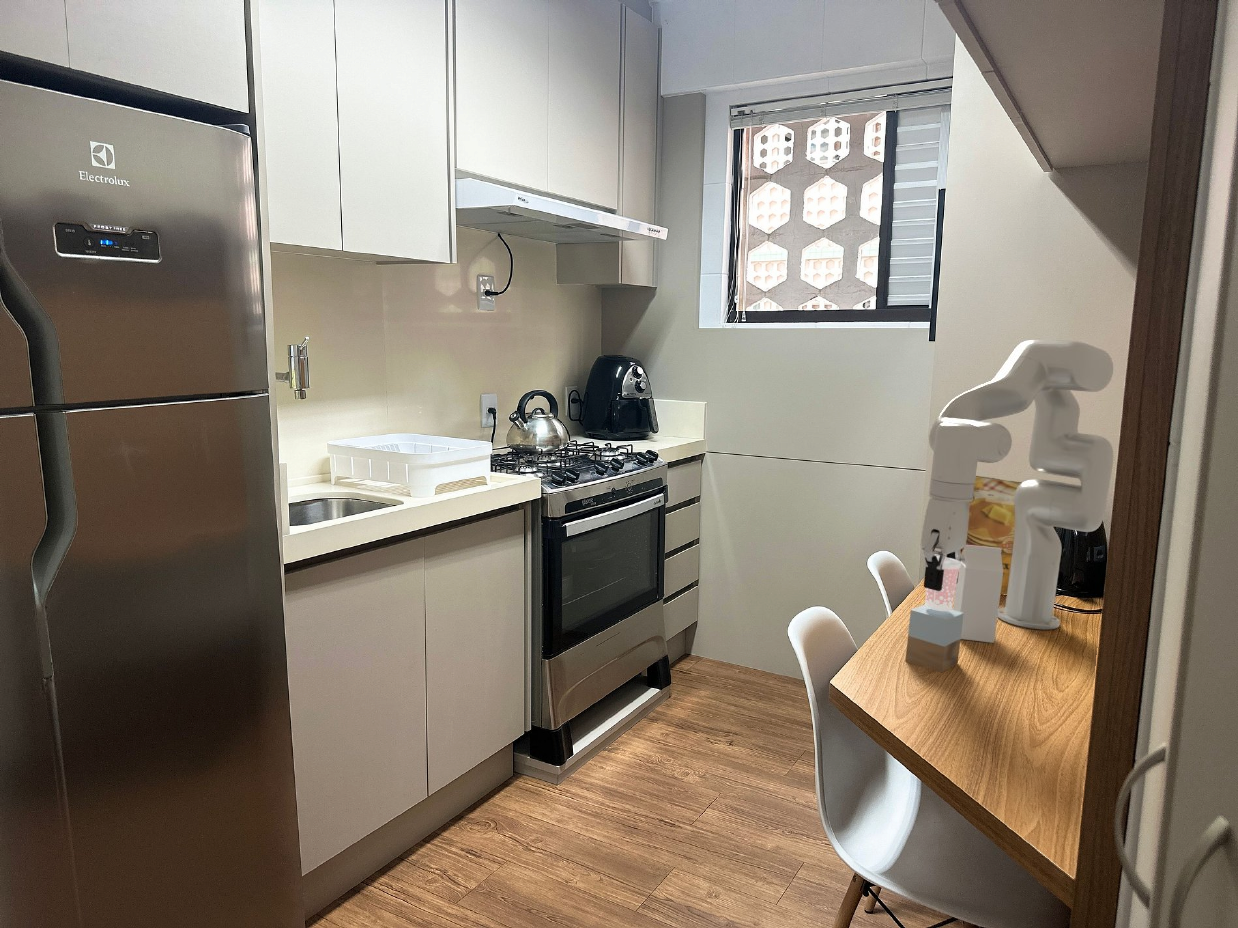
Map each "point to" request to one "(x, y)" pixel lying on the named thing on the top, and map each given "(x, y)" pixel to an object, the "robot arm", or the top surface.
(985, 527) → the pancake mix bag
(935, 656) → the bottom block
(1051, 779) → the top surface
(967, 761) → the top surface
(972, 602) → the milk carton
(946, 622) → the top block
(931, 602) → the beverage cup
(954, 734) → the top surface
